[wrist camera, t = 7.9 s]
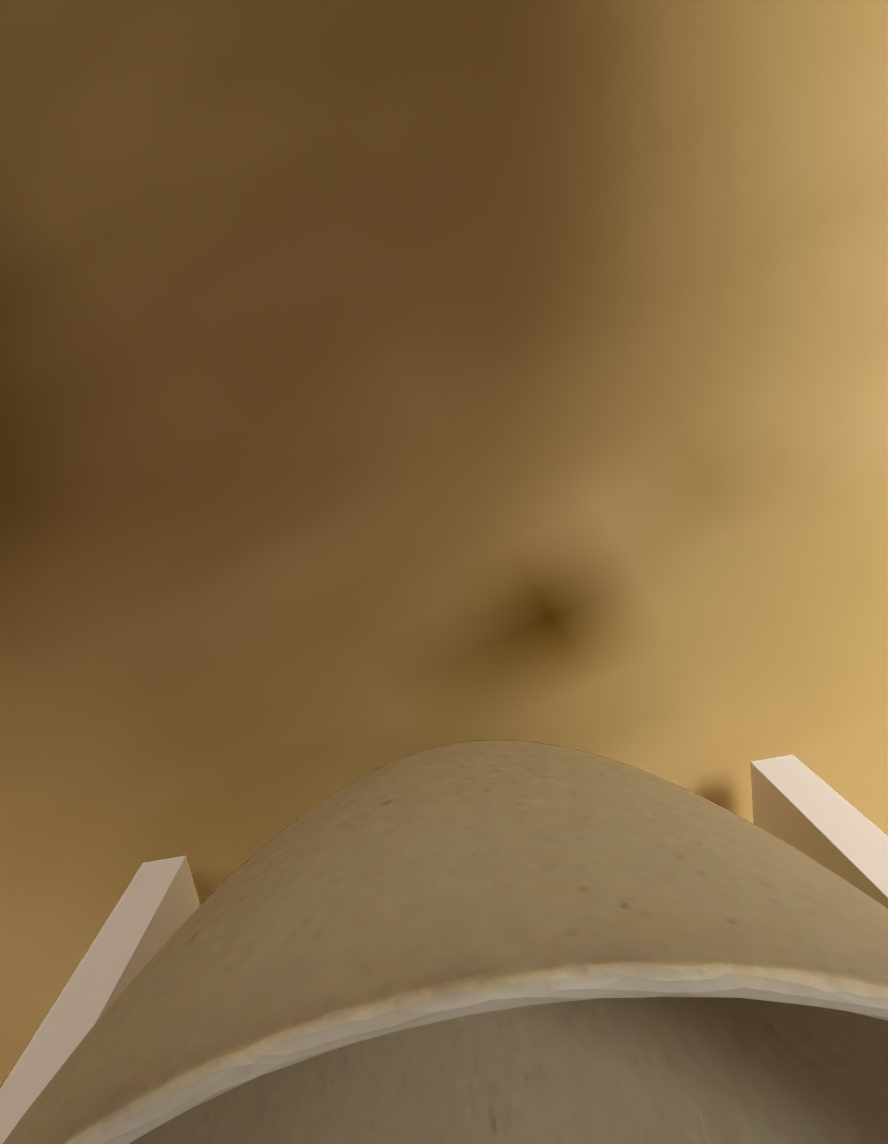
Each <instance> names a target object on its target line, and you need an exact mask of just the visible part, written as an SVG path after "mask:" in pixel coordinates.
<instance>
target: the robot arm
mask: <svg viewBox="0 0 888 1144" xmlns="http://www.w3.org/2000/svg"><path fill="white" fill-rule="evenodd" d="M750 763H751V782H752V801H753V820H754V825H756V826H758V827H760V828H761V829H763V830H765V831H767V832H769V833H770V834H772V835H774V836H776V837H777V838H779V839H781V840H783V841H785V842H786V843H788V844H790V845H791V846H793V847H794V848H796V849H797V850H799V851H801V852H802V853H804V854H805V855H807V856H809V857H810V858H812V859H813V860H815V861H816V862H818V863H820V864H821V865H823V866H824V867H826V868H827V869H829V870H831V871H832V872H834V873H835V874H837V875H838V876H840V877H842V878H843V879H845V880H846V881H848V882H849V883H851V884H852V885H854V886H855V887H857V888H858V889H860V890H861V891H863V892H864V893H865V894H867V895H868V896H870V897H871V898H873V899H874V900H876V901H877V902H879V903H880V904H882V905H883V906H885V907H886V908H888V836H887V835H886V834H885V833H884V832H882V831H881V830H880V829H879V828H878V827H877V826H875V825H874V824H873V823H872V822H871V821H870V820H868V819H867V818H866V817H865V816H864V815H863V814H861V813H860V812H859V811H858V810H857V809H856V808H854V807H853V806H852V805H851V804H850V803H849V802H847V801H846V800H845V799H844V798H843V797H842V796H841V795H839V794H838V793H837V792H836V791H835V790H834V789H832V788H831V787H830V786H829V785H828V784H827V783H825V782H824V781H823V780H822V779H821V778H820V777H818V776H817V775H816V774H815V773H814V772H813V771H811V770H810V769H809V768H808V767H807V766H806V765H804V764H803V763H802V762H801V761H800V760H799V759H797V758H796V757H795V756H794V755H787V756H781V757H775V758H769V759H763V760H757V761H751V762H750ZM199 907H200V902H199V899H198V895H197V892H196V888H195V885H194V881H193V878H192V874H191V871H190V867H189V864H188V860H187V857H186V856H180V857H174V858H168V859H162V860H156V861H150V862H144V863H142V865H141V867H140V868H139V870H138V871H137V873H136V874H135V876H134V878H133V879H132V881H131V882H130V884H129V886H128V887H127V889H126V890H125V892H124V893H123V895H122V897H121V898H120V900H119V901H118V903H117V905H116V906H115V908H114V909H113V911H112V913H111V914H110V916H109V917H108V919H107V920H106V922H105V924H104V925H103V927H102V928H101V930H100V932H99V933H98V935H97V936H96V938H95V939H94V941H93V943H92V944H91V946H90V947H89V949H88V951H87V952H86V954H85V955H84V957H83V959H82V960H81V962H80V963H79V965H78V966H77V968H76V970H75V971H74V973H73V974H72V976H71V978H70V979H69V981H68V982H67V984H66V985H65V987H64V989H63V990H62V992H61V993H60V995H59V997H58V998H57V1000H56V1001H55V1003H54V1004H53V1006H52V1008H51V1009H50V1011H49V1012H48V1014H47V1016H46V1017H45V1019H44V1020H43V1022H42V1024H41V1025H40V1027H39V1028H38V1030H37V1031H36V1033H35V1035H34V1036H33V1038H32V1039H31V1041H30V1043H29V1044H28V1046H27V1047H26V1049H25V1050H24V1052H23V1054H22V1055H21V1057H20V1058H19V1060H18V1062H17V1063H16V1065H15V1066H14V1068H13V1070H12V1071H11V1073H10V1074H9V1076H8V1077H7V1079H6V1081H5V1082H4V1084H3V1085H2V1087H1V1089H0V1144H3V1142H4V1141H5V1140H6V1138H7V1137H8V1135H9V1134H10V1133H11V1131H12V1130H13V1129H14V1127H15V1126H16V1124H17V1123H18V1122H19V1120H20V1119H21V1118H22V1116H23V1115H24V1114H25V1112H26V1111H27V1110H28V1108H29V1107H30V1106H31V1105H32V1103H33V1102H34V1101H35V1100H36V1098H37V1097H38V1096H39V1094H40V1093H41V1092H42V1091H43V1089H44V1088H45V1087H46V1086H47V1084H48V1083H49V1082H50V1080H51V1079H52V1078H53V1077H54V1075H55V1074H56V1073H57V1072H58V1070H59V1069H60V1068H61V1066H62V1065H63V1064H64V1063H65V1061H66V1060H67V1059H68V1058H69V1056H70V1055H71V1054H72V1053H73V1051H74V1050H75V1049H76V1047H77V1046H78V1045H79V1044H80V1042H81V1041H82V1040H83V1039H84V1037H85V1036H86V1035H87V1033H88V1032H89V1031H90V1030H91V1028H92V1027H93V1026H94V1025H95V1024H96V1022H97V1021H98V1020H99V1019H100V1018H101V1017H102V1015H103V1014H104V1013H105V1012H106V1011H107V1010H108V1008H109V1007H110V1006H111V1005H112V1004H113V1003H114V1001H115V1000H116V999H117V998H118V997H119V996H120V994H121V993H122V992H123V991H124V990H125V989H126V987H127V986H128V985H129V984H130V983H131V982H132V980H133V979H134V978H135V977H136V976H137V975H138V973H139V972H140V971H141V970H142V969H143V968H144V967H145V965H146V964H147V963H148V962H149V961H150V960H151V959H152V958H153V956H154V955H155V954H156V953H157V952H158V951H159V950H160V948H161V947H162V946H163V945H164V944H165V943H166V942H167V940H168V939H169V938H170V937H171V936H172V935H173V934H174V933H175V931H176V930H177V929H178V928H179V927H180V926H181V925H182V924H183V923H184V922H185V921H186V920H187V919H188V918H189V917H190V916H191V915H192V914H193V913H194V912H195V911H196V910H197V909H198V908H199Z"/></svg>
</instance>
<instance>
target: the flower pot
mask: <svg viewBox="0 0 888 1144" xmlns="http://www.w3.org/2000/svg"><path fill="white" fill-rule="evenodd" d="M3 1144H888V908H886V907H885V906H883V905H882V904H880V903H879V902H877V901H876V900H874V899H873V898H871V897H870V896H868V895H867V894H865V893H864V892H863V891H861V890H860V889H858V888H857V887H855V886H854V885H852V884H851V883H849V882H848V881H846V880H845V879H843V878H842V877H840V876H838V875H837V874H835V873H834V872H832V871H831V870H829V869H827V868H826V867H824V866H823V865H821V864H820V863H818V862H816V861H815V860H813V859H812V858H810V857H809V856H807V855H805V854H804V853H802V852H801V851H799V850H797V849H796V848H794V847H793V846H791V845H790V844H788V843H786V842H785V841H783V840H781V839H779V838H777V837H776V836H774V835H772V834H770V833H769V832H767V831H765V830H763V829H761V828H760V827H758V826H756V825H754V824H753V823H751V822H749V821H747V820H745V819H743V818H742V817H740V816H738V815H736V814H734V813H732V812H730V811H728V810H726V809H725V808H723V807H721V806H719V805H717V804H715V803H713V802H711V801H709V800H708V799H706V798H704V797H702V796H699V795H697V794H695V793H693V792H691V791H688V790H686V789H684V788H682V787H680V786H677V785H675V784H673V783H671V782H668V781H666V780H663V779H661V778H659V777H656V776H654V775H652V774H649V773H647V772H644V771H642V770H640V769H637V768H634V767H631V766H628V765H625V764H623V763H620V762H617V761H614V760H611V759H608V758H605V757H602V756H598V755H594V754H590V753H586V752H582V751H578V750H574V749H570V748H566V747H561V746H555V745H549V744H544V743H538V742H527V741H516V740H485V741H468V742H461V743H455V744H449V745H444V746H439V747H435V748H431V749H428V750H425V751H421V752H418V753H415V754H412V755H409V756H406V757H403V758H400V759H397V760H395V761H393V762H391V763H388V764H386V765H384V766H382V767H380V768H377V769H375V770H374V771H372V772H370V773H368V774H366V775H364V776H363V777H361V778H359V779H357V780H355V781H354V782H352V783H350V784H348V785H346V786H345V787H343V788H342V789H340V790H338V791H337V792H335V793H334V794H332V795H330V796H329V797H327V798H326V799H324V800H323V801H322V802H320V803H319V804H317V805H316V806H315V807H313V808H312V809H310V810H309V811H308V812H306V813H305V814H303V815H302V816H301V817H300V818H298V819H297V820H296V821H294V822H293V823H292V824H291V825H289V826H288V827H287V828H286V829H284V830H283V831H282V832H281V833H279V834H278V835H277V836H276V837H274V838H273V839H272V840H271V841H269V842H268V843H267V844H266V845H264V846H263V847H262V848H261V849H260V850H259V851H257V852H256V853H255V854H254V855H253V856H252V857H251V858H250V859H249V860H248V861H247V862H246V863H244V864H243V865H242V866H241V867H240V868H239V869H238V870H237V871H236V872H235V873H234V874H232V875H231V876H230V877H229V878H228V879H227V880H226V881H225V882H224V883H223V884H222V885H221V886H219V887H218V888H217V889H216V890H215V891H214V893H213V894H212V895H211V896H210V897H209V898H208V899H207V900H206V901H205V902H204V903H203V904H202V905H201V906H200V907H199V908H198V909H197V910H196V911H195V912H194V913H193V914H192V915H191V916H190V917H189V918H188V919H187V920H186V921H185V922H184V923H183V924H182V925H181V926H180V927H179V928H178V929H177V930H176V931H175V933H174V934H173V935H172V936H171V937H170V938H169V939H168V940H167V942H166V943H165V944H164V945H163V946H162V947H161V948H160V950H159V951H158V952H157V953H156V954H155V955H154V956H153V958H152V959H151V960H150V961H149V962H148V963H147V964H146V965H145V967H144V968H143V969H142V970H141V971H140V972H139V973H138V975H137V976H136V977H135V978H134V979H133V980H132V982H131V983H130V984H129V985H128V986H127V987H126V989H125V990H124V991H123V992H122V993H121V994H120V996H119V997H118V998H117V999H116V1000H115V1001H114V1003H113V1004H112V1005H111V1006H110V1007H109V1008H108V1010H107V1011H106V1012H105V1013H104V1014H103V1015H102V1017H101V1018H100V1019H99V1020H98V1021H97V1022H96V1024H95V1025H94V1026H93V1027H92V1028H91V1030H90V1031H89V1032H88V1033H87V1035H86V1036H85V1037H84V1039H83V1040H82V1041H81V1042H80V1044H79V1045H78V1046H77V1047H76V1049H75V1050H74V1051H73V1053H72V1054H71V1055H70V1056H69V1058H68V1059H67V1060H66V1061H65V1063H64V1064H63V1065H62V1066H61V1068H60V1069H59V1070H58V1072H57V1073H56V1074H55V1075H54V1077H53V1078H52V1079H51V1080H50V1082H49V1083H48V1084H47V1086H46V1087H45V1088H44V1089H43V1091H42V1092H41V1093H40V1094H39V1096H38V1097H37V1098H36V1100H35V1101H34V1102H33V1103H32V1105H31V1106H30V1107H29V1108H28V1110H27V1111H26V1112H25V1114H24V1115H23V1116H22V1118H21V1119H20V1120H19V1122H18V1123H17V1124H16V1126H15V1127H14V1129H13V1130H12V1131H11V1133H10V1134H9V1135H8V1137H7V1138H6V1140H5V1141H4V1142H3Z"/></svg>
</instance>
